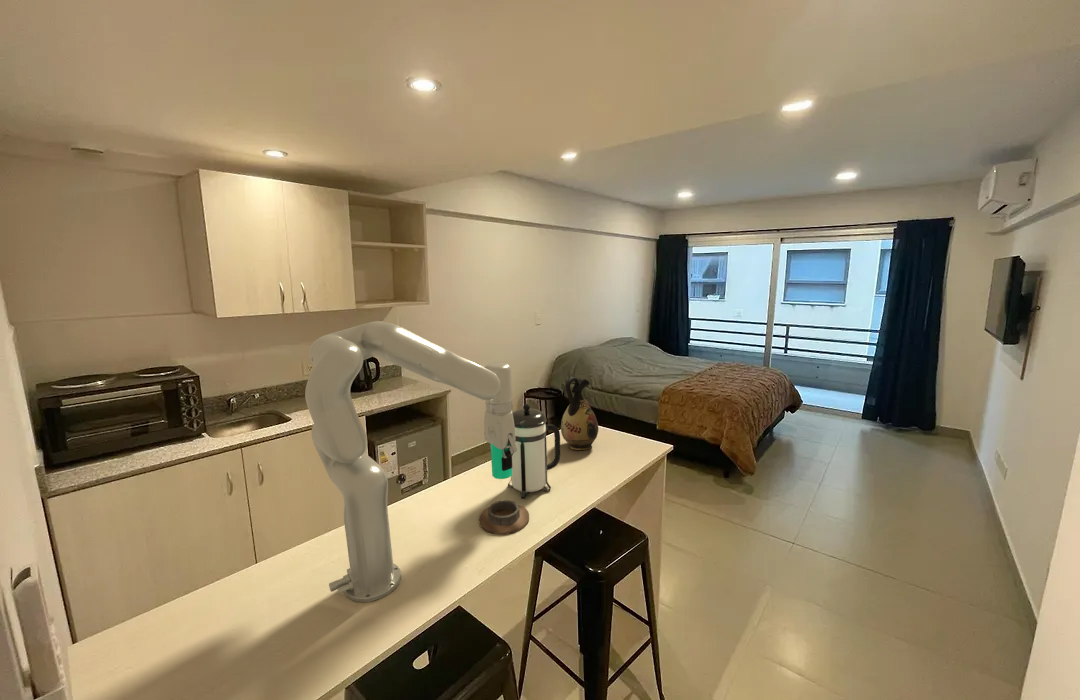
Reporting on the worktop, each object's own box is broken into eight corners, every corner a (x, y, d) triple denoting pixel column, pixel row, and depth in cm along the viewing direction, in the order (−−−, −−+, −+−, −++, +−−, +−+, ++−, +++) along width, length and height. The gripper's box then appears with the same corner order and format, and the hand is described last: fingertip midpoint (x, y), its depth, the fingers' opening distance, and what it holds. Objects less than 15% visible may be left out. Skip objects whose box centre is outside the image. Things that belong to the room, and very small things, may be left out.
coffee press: (546, 503, 138) (544, 413, 132) (500, 496, 143) (496, 409, 137) (561, 478, 154) (560, 397, 148) (519, 472, 159) (516, 393, 154)
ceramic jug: (579, 435, 192) (578, 369, 186) (605, 446, 180) (606, 376, 174) (550, 446, 181) (549, 377, 175) (576, 458, 169) (576, 384, 164)
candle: (487, 474, 127) (485, 436, 125) (503, 467, 132) (501, 430, 129) (501, 481, 123) (499, 441, 121) (516, 473, 128) (515, 435, 125)
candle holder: (496, 541, 120) (495, 530, 119) (469, 517, 131) (469, 507, 131) (539, 521, 129) (539, 510, 128) (510, 500, 140) (510, 490, 140)
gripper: (472, 402, 128) (475, 460, 131) (504, 417, 114) (507, 480, 118) (494, 397, 132) (496, 453, 136) (527, 410, 119) (529, 472, 123)
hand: (501, 465), depth 127 cm, fingers closed on candle, 4 cm apart
